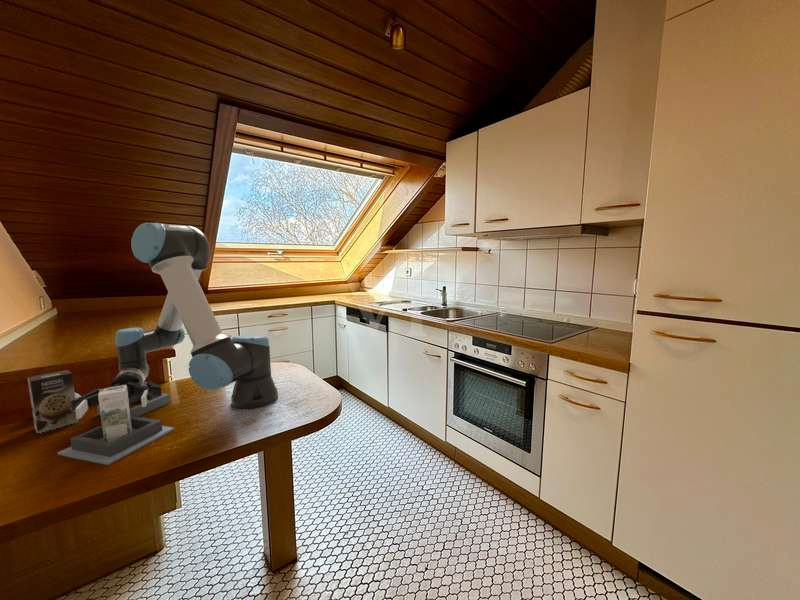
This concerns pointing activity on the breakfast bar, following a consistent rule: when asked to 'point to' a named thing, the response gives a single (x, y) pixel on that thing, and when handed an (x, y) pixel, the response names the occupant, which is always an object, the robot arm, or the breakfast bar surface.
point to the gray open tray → (150, 406)
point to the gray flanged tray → (106, 452)
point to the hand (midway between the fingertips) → (111, 407)
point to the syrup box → (115, 412)
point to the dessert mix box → (52, 400)
